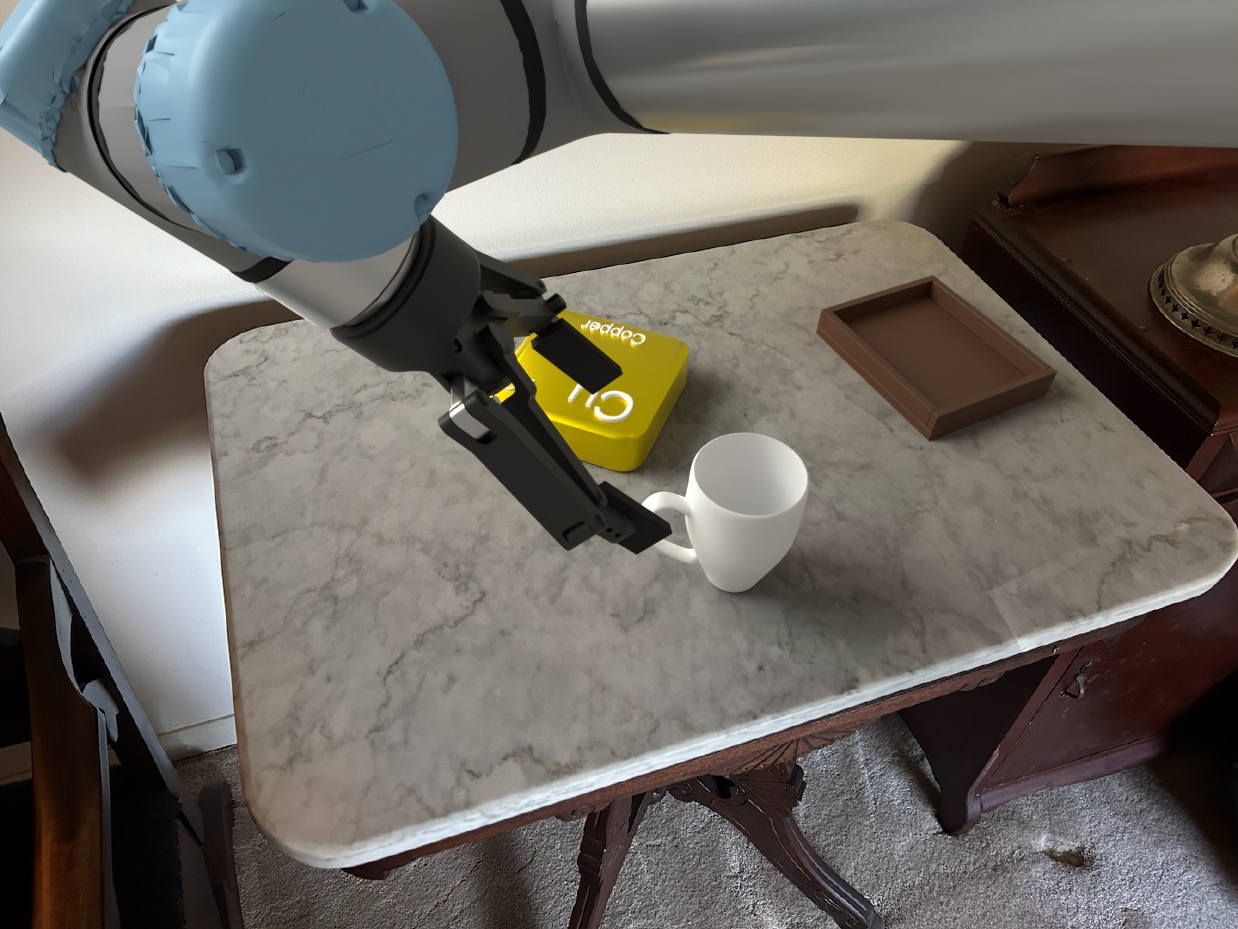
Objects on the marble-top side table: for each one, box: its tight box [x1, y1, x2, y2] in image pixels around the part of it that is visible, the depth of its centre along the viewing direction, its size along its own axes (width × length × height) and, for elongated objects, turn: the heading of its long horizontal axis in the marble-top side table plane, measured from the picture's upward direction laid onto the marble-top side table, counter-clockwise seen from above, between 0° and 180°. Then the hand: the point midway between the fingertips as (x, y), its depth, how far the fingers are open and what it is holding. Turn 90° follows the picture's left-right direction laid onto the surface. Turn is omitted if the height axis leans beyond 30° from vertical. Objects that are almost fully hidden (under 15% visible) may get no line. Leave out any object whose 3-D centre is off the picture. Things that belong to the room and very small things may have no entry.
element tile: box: [490, 308, 690, 472], centre depth 78 cm, size 15×15×5 cm
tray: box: [815, 274, 1058, 441], centre depth 84 cm, size 18×15×3 cm
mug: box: [641, 432, 810, 593], centre depth 62 cm, size 12×8×11 cm
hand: (628, 454), depth 55 cm, fingers open, 13 cm apart
